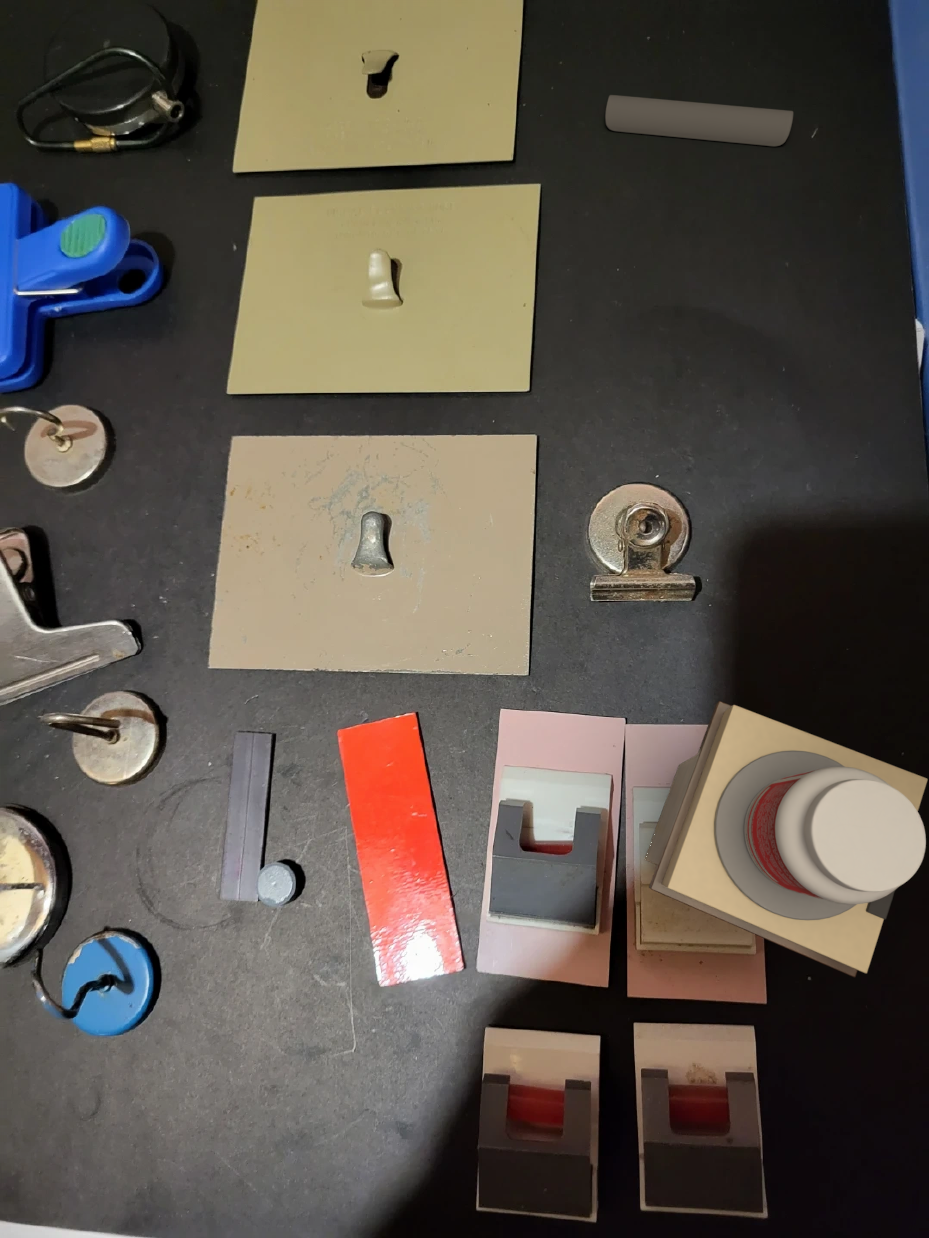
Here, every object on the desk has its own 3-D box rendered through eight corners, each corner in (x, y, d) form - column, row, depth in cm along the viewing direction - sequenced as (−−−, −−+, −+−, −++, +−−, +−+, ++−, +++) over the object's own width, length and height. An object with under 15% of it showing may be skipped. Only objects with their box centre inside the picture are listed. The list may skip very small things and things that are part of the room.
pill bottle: (778, 911, 46) (841, 936, 36) (721, 805, 48) (765, 799, 37) (882, 861, 46) (976, 871, 36) (822, 757, 48) (895, 737, 37)
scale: (907, 781, 51) (932, 778, 47) (849, 965, 49) (870, 975, 45) (724, 711, 53) (735, 702, 49) (661, 884, 51) (668, 888, 47)
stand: (799, 794, 77) (918, 776, 51) (754, 925, 75) (855, 977, 49) (668, 742, 79) (719, 700, 53) (622, 868, 77) (650, 888, 51)
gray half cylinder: (609, 99, 96) (610, 85, 94) (791, 115, 93) (795, 101, 91) (603, 131, 95) (603, 118, 93) (785, 148, 92) (790, 135, 90)
